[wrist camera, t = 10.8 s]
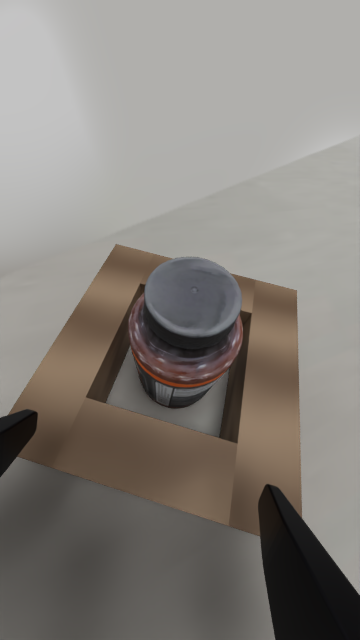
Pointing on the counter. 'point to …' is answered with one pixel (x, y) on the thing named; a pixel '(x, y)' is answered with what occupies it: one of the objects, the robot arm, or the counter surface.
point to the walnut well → (162, 437)
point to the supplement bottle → (185, 329)
